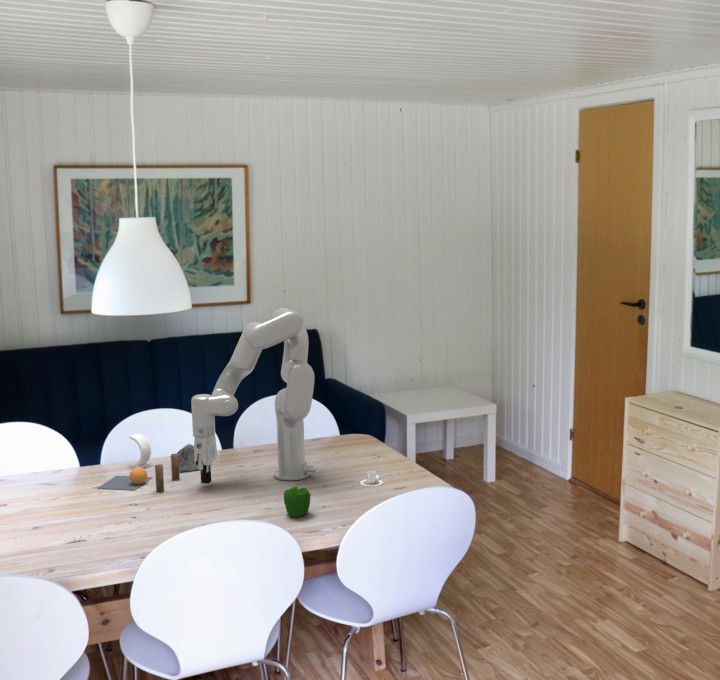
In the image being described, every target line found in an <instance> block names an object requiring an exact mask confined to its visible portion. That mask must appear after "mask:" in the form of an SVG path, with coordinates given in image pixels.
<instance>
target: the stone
mask: <svg viewBox="0 0 720 680" xmlns="http://www.w3.org/2000/svg"><path fill="white" fill-rule="evenodd" d="M176 454H178V458H179V473H183V472H190V471H191V472H192V471H197V470H198V465H195V461H194V444H191V443H186V444H185V445H184V446H183V447H182V448H181V449H179V450H178V451H177V452H176Z"/></svg>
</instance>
